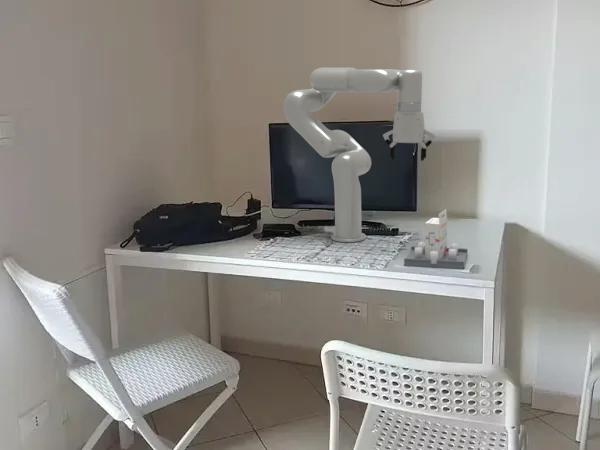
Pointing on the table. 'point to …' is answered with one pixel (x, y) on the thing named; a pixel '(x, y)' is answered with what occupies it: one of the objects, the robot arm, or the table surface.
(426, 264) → the tray
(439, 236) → the ink cartridge box
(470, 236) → the table surface
